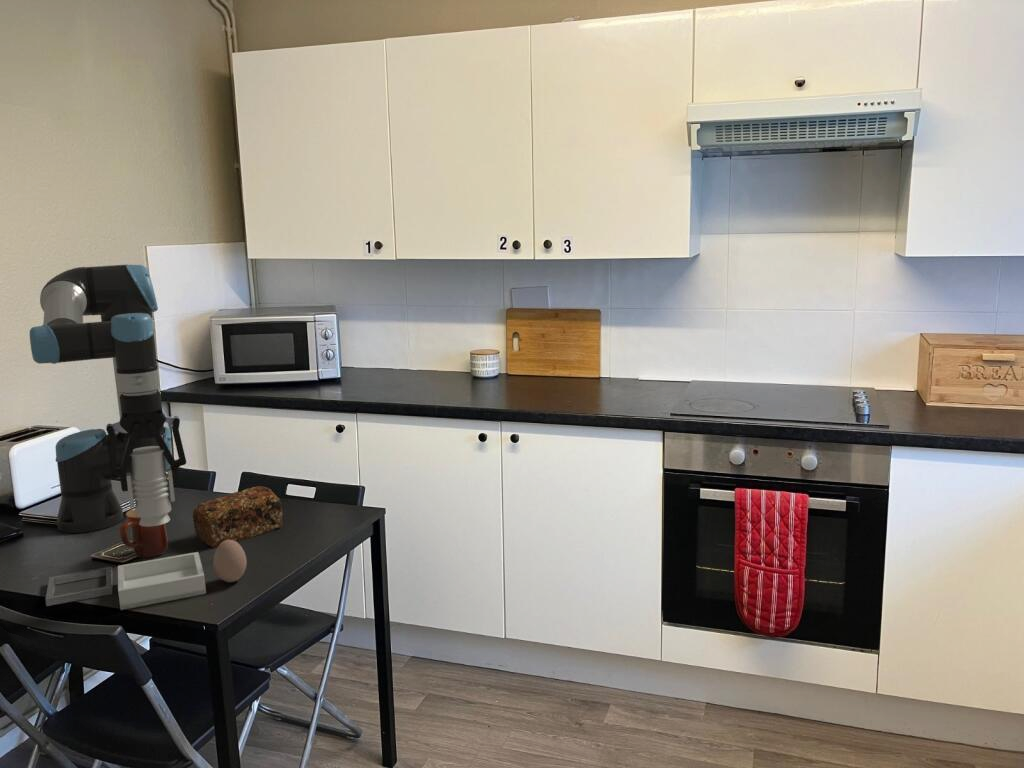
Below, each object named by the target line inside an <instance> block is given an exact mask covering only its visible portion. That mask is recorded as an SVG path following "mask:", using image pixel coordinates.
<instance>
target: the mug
mask: <svg viewBox="0 0 1024 768" xmlns="http://www.w3.org/2000/svg"><path fill="white" fill-rule="evenodd" d="M125 517H126V519H127V521H126V522H125V521H124V522H123V524H122V525H121V526H120V529H119V534H120V535H119V536H120V539H121V542H122V543H123V544H124V545H125V546H126V547H127V548H132V550H133V552H134V555H135V557H138V558H140V559H151V558H156V557H160V556H161V555H163V554H165V552H167V550H168V545H169V543H168V535H167V528H166V523H165V524H162V525H158V526H150V527H146V526H141V525H139V523H140V520H141V517H138V516H137V515H136V507H133V508H130V510H127V511H126V512H125ZM129 527H130V531H131V532H130V533H131V535H130V536H131V542H130V540H129V537H128V532H127V530H128V528H129Z"/></svg>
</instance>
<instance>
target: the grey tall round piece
mask: <svg viewBox="0 0 1024 768" xmlns="http://www.w3.org/2000/svg"><path fill="white" fill-rule="evenodd" d="M163 452H164V450H161V449H160V447H159V446H147V447H141V448H136V449H133V452H132V454H130V456H131V465H132V474H133V477H131V483H132V492H133V499H134V504H135V508H136V515H137V516H138V517H141V520H140V523H139V525H141V526H146V527H150V526H158V525H162V524H165V525H166V523H169V522H170V521H171V518H170V516H169V513H170V512H171V511H172V506H171V499H170V491H169V480H168V473H167V470H166V468H165V459H164V454H163Z"/></svg>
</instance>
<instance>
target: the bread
mask: <svg viewBox="0 0 1024 768" xmlns="http://www.w3.org/2000/svg"><path fill="white" fill-rule="evenodd" d="M192 519H193V529H194V532H195V535H196V537H197V539H198V540H200V541H201V542H203V543H206V544H207V546H209V547H211V548H213V549H217V548H218V546H219V545H220V544H221V543H222V542H223V541H225V540H233V541H236V542H237V543H238V542H240V541H242V540H247V539H250V538H253V537H256V536H258V535H262V534H266V533H269V532H272V531H274V530H276V529H279V528H281V527H282V526H283V508H282V501H281V500H280V498H279V497H278V496H277V495H276V493H274V492H273V491H272V489H270V488H268V487H266V486H261V485H258V486H257V485H256V486H253V487H249V488H246V489H243V490H240V491H235V492H233V493H230V494H226V495H223V496H222V497H216V498H212V499H211V500H208V501H204V502H202V503H199V504H197V505H196V506H195V507H194V509H193V512H192Z"/></svg>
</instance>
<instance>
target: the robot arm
mask: <svg viewBox="0 0 1024 768" xmlns="http://www.w3.org/2000/svg"><path fill="white" fill-rule="evenodd" d="M39 295H40V297H39V304H40V308H41V309H42V311H43V322H42V323H43V324H42V325H38V326H37V325H36V326H33V327H31V328H30V329H29V344H30V350H31V356H32V360H33V361H34V362H35V363H36V364H38V365H39V364H53V365H55V364H61V363H67V362H68V363H69V362H78V361H79V362H80V361H81V362H82V361H89V360H90V361H92V360H100V359H101V360H102V359H112V363H113V371H114V378H115V379H114V380H115V388H116V389H115V390H116V397H117V404H118V405H117V406H118V413H119V421H117V422H114V423H107V424H106V425H105V429H106V431H105V429H103V428H96V429H94V428H92V429H86V430H82V431H78V432H75V433H74V432H73V433H71V434H69V435H66V436H64V437H62V438H61V439H59V440H58V441H57V442H56V444H55V462H56V463H57V464H56V465H57V471H58V480H59V487H60V494H61V496H60V497H61V498H60V499H61V500H60V504H59V507H58V511H57V512H58V513H57V518H56V523H57V529H58V531H60V532H64V533H70V534H80V533H88V532H96V531H100V530H104V529H106V528H110V527H113V526H115V525H117V524H119V523H120V522H121V521H122V520H123V519H124V512H123V508H122V506H121V505H122V504H120V501H119V499H118V498H117V496H116V494H115V492H114V490H113V484H112V480H120V487H121V491H122V492H127V494H128V500H129V507H130V509H134V508H135V499H133V492H132V483H131V478H132V477H133V474H132V465H131V456H130V454H132V452H133V449H136V448H141V447H147V446H159V447H160V449H161V450H164V452H163V454H164V459H165V468H166V473H167V474H168V478H167V479H168V480H169V483H168V485H169V489H168V490H169V491H170V494H169V499H170V503H173V502H175V501H176V498H175V497H176V495H175V488H174V487H175V486H174V485H178V484H179V481H180V480H179V478H180V477H179V471H178V469H179V468H180V467H182V466H185V465H186V464H187V458H186V455H185V450H184V446H183V442H182V438H181V434H180V430H179V429H180V423H181V420H180V417H179V416H177V415H174V416H167V415H165V413H164V411H163V403H162V395H161V392H160V390H159V389H160V388H161V385H160V377H159V376H160V375H159V368H158V363H157V352H156V350H157V349H156V342H155V341H156V340H155V328H154V325H153V318H154V317H153V312H154V313H155V312H157V311H158V309H159V307H158V303H157V297H156V294H155V290H154V286H153V281H152V278H151V276H150V272H149V269H148V268H147V267H146V266H145V265H142V264H116V265H113V264H112V265H101V266H100V265H99V266H80V267H74V268H70V269H67V270H65V271H62V272H61V273H59V274H56V275H55V276H54V277H52V278H51V279H50V280H48V281H47V282H46V284H45V285H44V286H43V288H42V290H41V292H40V294H39ZM84 316H85V317H86V316H100V319H101V321H91V322H84ZM165 423H167V425H168V426H165ZM171 431H172V433H171ZM172 436H173V440H174V443H175V447H176V452H177V456H178V458H177V459H175V457H174V456H173V454H172Z"/></svg>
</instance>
